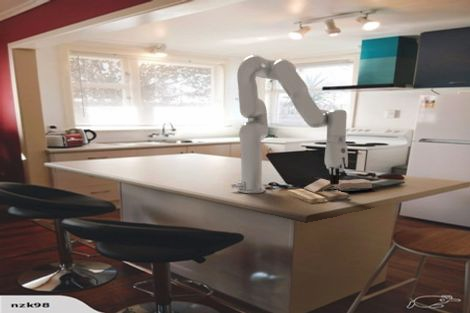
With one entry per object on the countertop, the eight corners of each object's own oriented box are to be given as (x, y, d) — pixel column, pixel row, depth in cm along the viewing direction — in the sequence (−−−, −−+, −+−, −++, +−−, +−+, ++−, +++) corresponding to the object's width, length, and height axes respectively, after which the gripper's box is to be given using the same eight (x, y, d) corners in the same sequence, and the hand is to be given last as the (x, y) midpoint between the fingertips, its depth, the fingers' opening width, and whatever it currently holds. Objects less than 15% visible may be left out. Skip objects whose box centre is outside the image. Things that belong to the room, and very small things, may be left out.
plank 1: (315, 195, 149) (314, 191, 148) (304, 191, 157) (303, 188, 156) (333, 184, 152) (332, 181, 151) (322, 181, 160) (321, 178, 159)
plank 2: (328, 200, 140) (328, 196, 140) (316, 195, 148) (316, 192, 148) (349, 197, 144) (349, 194, 144) (336, 193, 152) (336, 189, 152)
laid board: (309, 203, 137) (310, 198, 137) (287, 194, 154) (287, 189, 154) (327, 201, 140) (327, 197, 140) (303, 192, 157) (303, 188, 157)
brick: (362, 187, 169) (362, 177, 168) (372, 190, 160) (373, 180, 160) (330, 189, 165) (330, 179, 164) (340, 193, 157) (340, 183, 156)
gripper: (355, 141, 138) (353, 186, 140) (332, 138, 152) (331, 180, 154) (339, 141, 135) (338, 188, 138) (317, 139, 149) (316, 181, 151)
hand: (334, 184), depth 146 cm, fingers closed
